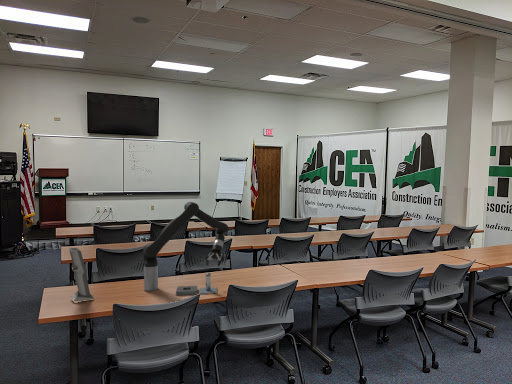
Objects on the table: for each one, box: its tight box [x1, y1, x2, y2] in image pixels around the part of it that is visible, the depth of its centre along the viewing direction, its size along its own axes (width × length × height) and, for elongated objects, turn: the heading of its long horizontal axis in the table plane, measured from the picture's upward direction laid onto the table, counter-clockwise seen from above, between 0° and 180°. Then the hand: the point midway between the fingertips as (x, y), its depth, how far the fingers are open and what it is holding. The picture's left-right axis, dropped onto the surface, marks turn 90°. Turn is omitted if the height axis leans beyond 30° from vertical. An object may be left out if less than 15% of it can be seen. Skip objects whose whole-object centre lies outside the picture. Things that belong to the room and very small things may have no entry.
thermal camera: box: [68, 247, 95, 301], centre depth 251 cm, size 12×13×35 cm
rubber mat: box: [199, 286, 218, 295], centre depth 269 cm, size 12×12×1 cm
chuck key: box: [205, 272, 212, 291], centre depth 269 cm, size 4×4×12 cm
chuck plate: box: [175, 285, 198, 296], centre depth 267 cm, size 14×12×2 cm
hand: (212, 265), depth 277 cm, fingers open, 8 cm apart
